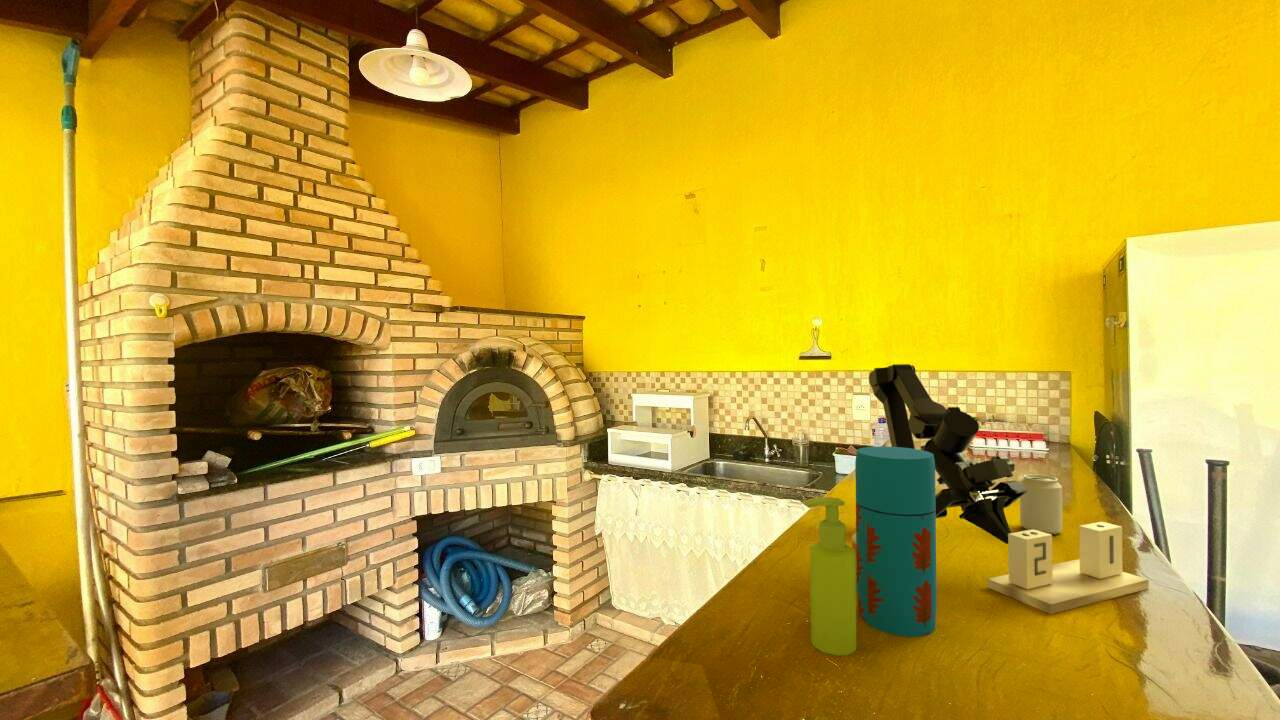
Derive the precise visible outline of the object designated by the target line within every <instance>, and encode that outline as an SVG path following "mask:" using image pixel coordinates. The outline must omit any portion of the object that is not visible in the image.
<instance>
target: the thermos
mask: <svg viewBox="0 0 1280 720" xmlns="http://www.w3.org/2000/svg"><path fill="white" fill-rule="evenodd" d="M854 463H855V464H854V465H855V466H854V467H855V470H854V471H855V528H856V529H855V533H856V560H857V578H856V599H857V610H858V611H857V612H858V615H859V617H860V619H861V620H862V621H863V622H865V624H867V625H868V626H869V627H872V628H874V629H877V630H878V631H881V632H884V633H887V634H892V635H895V636H901V637H908V638H909V637H910V638H911V637H922V636H923V635H924V636H927V635H930V634H932V633H933V632H934V631H935V630H936V621H937V603H938V602H937V601H938V600H937V597H938V596H937V518H936V496H935V495H936V470H935V461H934V455H933V454H932V453H930V452H927V451H923V450H921V449H917V448H915V449H911V448H902V447H892V446H868V447H867V446H866V447H861V448H858V449H857V450H856V454H855V461H854ZM926 634H927V635H926Z"/></svg>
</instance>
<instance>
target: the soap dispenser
mask: <svg viewBox="0 0 1280 720" xmlns="http://www.w3.org/2000/svg"><path fill="white" fill-rule="evenodd" d="M801 504H803V505H804V506H805V507H807V508H808V509H811V508H815V507H821V506H822V507H823V506H825V509H824V510H825V518H824V519H823V520H821V521H819V523H818V525H819V526H818V529H819V530H818V535H819V536H818V537H819V540H818V541H819V542H815V543H812V544H811V545H810V546H809V562H810V563H809V567H810V571H809V572H810V573H809V574H810V575H809V576H810V581H809V582H810V583H809V584H810V641H811V644H812V646H813V647H814V648H816V649H817V650H819V651H820V652H822V653H825V654H827V653H828V655H832V656H849V655H852V654H854V653H855V652H856V650H857V578H856V555H855V550H854V549H853V548H852V546H849V545H847V544H846V523H844V522H843V521H841V520H840V519H839V517H840V515H839V507H845V501H844V500H843V499H841V498H839V497H825V496H823V497H821V496H820V497H813V498H809V499H805V500H802V501H801Z"/></svg>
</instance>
